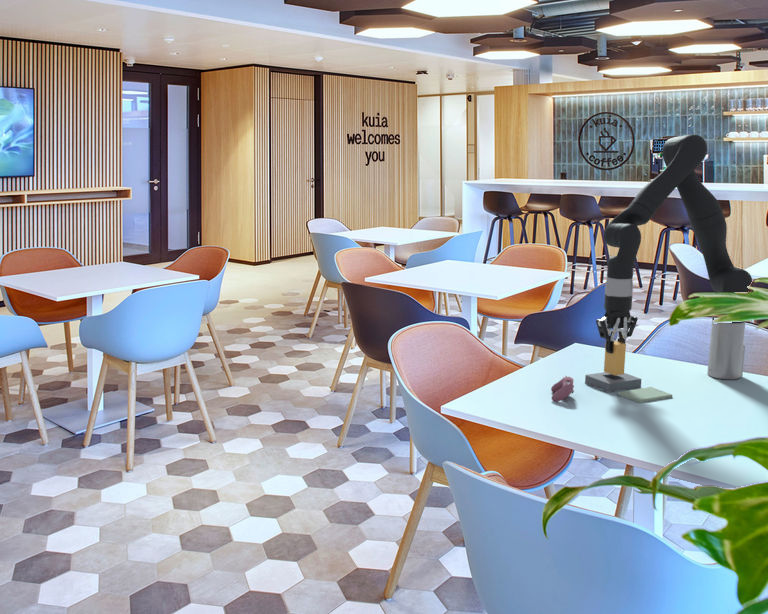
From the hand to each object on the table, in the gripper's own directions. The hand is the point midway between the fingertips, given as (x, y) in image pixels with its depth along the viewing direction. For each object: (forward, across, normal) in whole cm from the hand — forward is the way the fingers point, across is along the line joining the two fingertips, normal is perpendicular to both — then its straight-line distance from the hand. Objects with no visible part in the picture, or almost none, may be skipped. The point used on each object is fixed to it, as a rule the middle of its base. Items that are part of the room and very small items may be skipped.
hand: (615, 351), depth 226 cm
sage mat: (+10, -1, +12) cm, 16 cm away
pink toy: (+10, +21, +3) cm, 24 cm away
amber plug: (+6, 0, 0) cm, 6 cm away
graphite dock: (+10, 0, 0) cm, 10 cm away
